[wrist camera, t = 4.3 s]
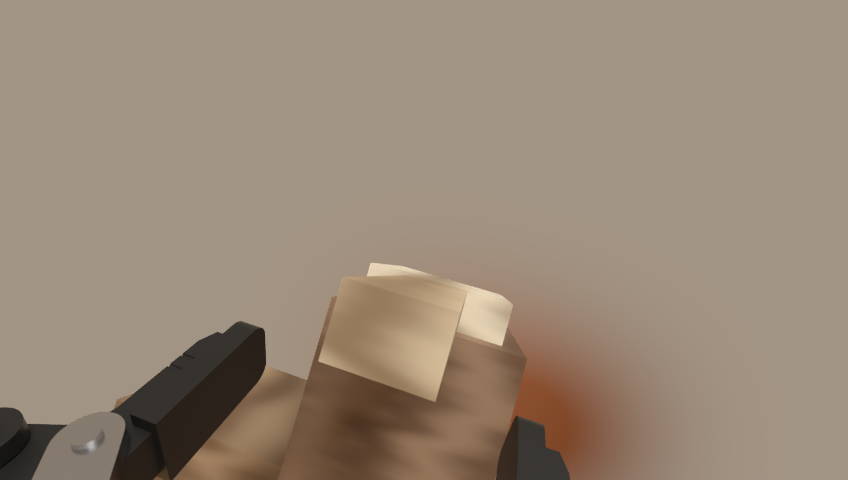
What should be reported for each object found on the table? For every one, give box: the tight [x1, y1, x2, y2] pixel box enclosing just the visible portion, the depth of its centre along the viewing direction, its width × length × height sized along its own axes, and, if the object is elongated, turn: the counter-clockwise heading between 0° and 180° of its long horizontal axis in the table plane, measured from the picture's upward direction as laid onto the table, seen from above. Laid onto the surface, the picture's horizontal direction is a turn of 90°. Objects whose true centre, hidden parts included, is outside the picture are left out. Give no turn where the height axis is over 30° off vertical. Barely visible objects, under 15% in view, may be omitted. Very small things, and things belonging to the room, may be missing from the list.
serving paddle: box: [318, 263, 513, 402], centre depth 21 cm, size 9×22×2 cm, turn 172°
